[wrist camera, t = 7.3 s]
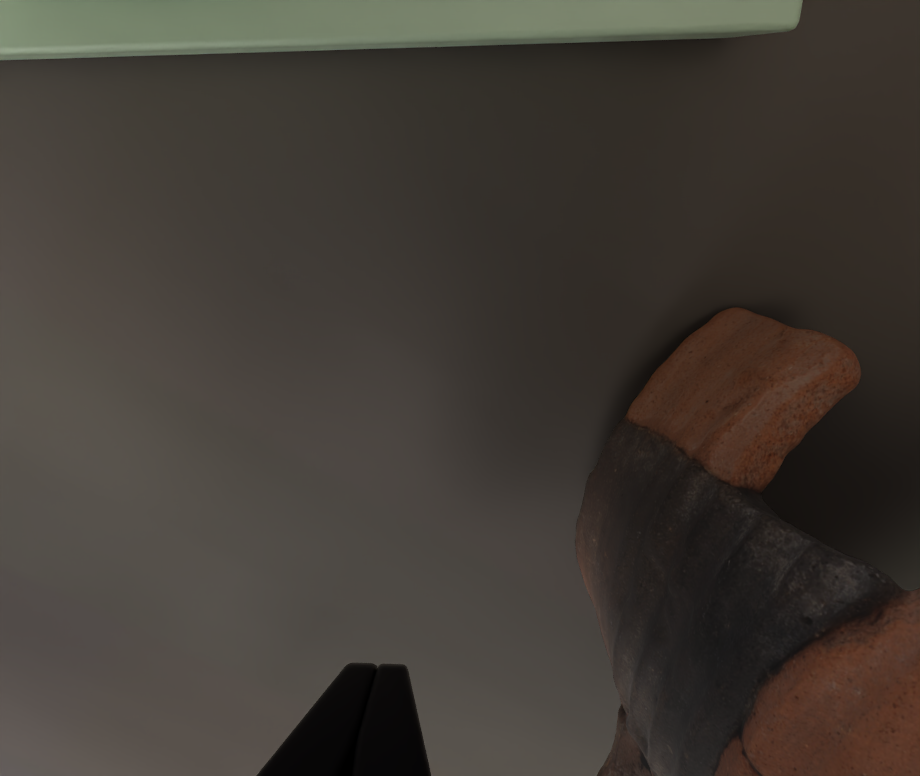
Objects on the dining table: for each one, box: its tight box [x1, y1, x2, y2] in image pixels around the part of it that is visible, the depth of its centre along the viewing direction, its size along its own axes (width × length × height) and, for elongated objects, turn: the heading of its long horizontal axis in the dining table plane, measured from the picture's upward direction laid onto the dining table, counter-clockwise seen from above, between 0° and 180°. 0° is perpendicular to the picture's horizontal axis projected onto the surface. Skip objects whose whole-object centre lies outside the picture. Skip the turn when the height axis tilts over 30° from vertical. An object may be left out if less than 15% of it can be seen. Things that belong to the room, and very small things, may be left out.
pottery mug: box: [575, 307, 920, 776], centre depth 9 cm, size 12×10×8 cm
